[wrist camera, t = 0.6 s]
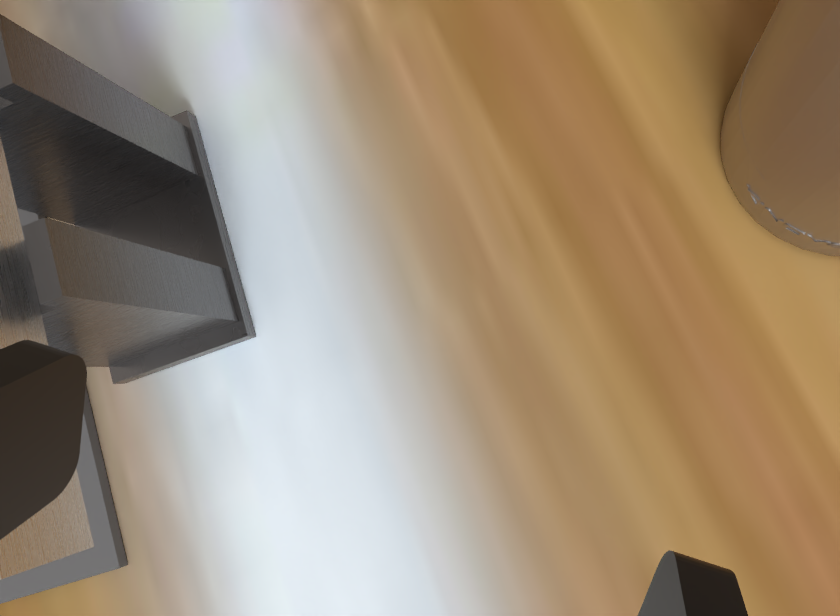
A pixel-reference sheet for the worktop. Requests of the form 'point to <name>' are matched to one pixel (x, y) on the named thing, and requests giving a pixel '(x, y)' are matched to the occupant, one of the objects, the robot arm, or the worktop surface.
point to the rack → (115, 216)
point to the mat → (98, 510)
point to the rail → (21, 320)
